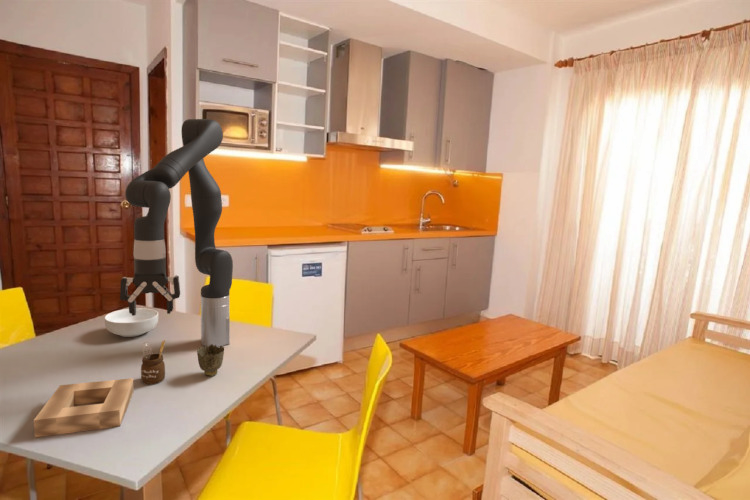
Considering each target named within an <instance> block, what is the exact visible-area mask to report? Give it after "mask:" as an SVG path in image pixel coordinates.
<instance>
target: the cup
mask: <svg viewBox="0 0 750 500" xmlns="http://www.w3.org/2000/svg"><path fill="white" fill-rule="evenodd" d="M196 353H197V360H198V361H197V362H198V365H199V366H198V367H199V368H200V370H202V371H203V374H204V375H205V376H206V377H214V376H216V375H217V374H218V370H219V369H220V368H221V367H222V365H223V362H224V354H225V347H224V346H219V347H217V346H216V345H213V344H211V345H210V346H209V347H208V346H207V345H206V346H203V345H202V346H201V347H198V348H197V350H196Z"/></svg>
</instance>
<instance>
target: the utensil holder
mask: <svg viewBox="0 0 750 500" xmlns="http://www.w3.org/2000/svg"><path fill="white" fill-rule="evenodd" d="M165 342H166V339H164V340H162V341H161V343H160V348H159V353H157V352H156V353H154V352H152V350H153V349H152V346H149V347H147V346H148V345H151V344H150V343H149V342H148V341H147V342H144V343H142V345H145V346H144V347H141V350H142V353H144V354H143V357H142V360H141V362H142V363H141V367H140V380H141V382H142V384H144V385H148V386H149V385H155V384H156V385H157V384H160V383H162V382H163V381H164V380H165V378H166V365H165V361H164V356H163V354H162V352H163V350H164V347H165ZM147 344H148V345H147ZM146 347H147V348H146ZM144 349H146V350H144ZM148 350H149V351H148ZM145 351H146V352H145ZM145 353H146V354H145Z"/></svg>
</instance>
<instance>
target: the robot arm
mask: <svg viewBox="0 0 750 500" xmlns="http://www.w3.org/2000/svg"><path fill="white" fill-rule="evenodd" d="M180 133H181V141H182V146H181V147H179V148H177V149H175V150H172V151H170V152H169V153H167V154H166V155H165V156H163V157H162V158H161V159H160V160H159V162H157V164H155V165H154V167H152V168H151V169H149V170H147V171H145V172H143V173H141V174H140V175H138V176H136V177H135V178H134V179H132V180H131V181H130V182H129V183H128V184H127V186H126V189H125V192H124V193H125V200H126V201H127V202H128V203H129V204H130V205H132V206H134V207H137V208H146V209H147V208H148V211H147V214H146V215H144V216H139V217H137V218H135V219H134V222H133V231H134V232H133V233H134V234H133V235H134V236H133V237H134V239H133V240H134V241H133V254H132V255H133V264H134V265H133V268H134V276H133V277H128V276H123V277H122V278H121V279H120V292H119V294H120V297H119V298H120V301H125V302H128V303H127V304H128V309H129V313H130V314H132V316H134V315H136V308H137V300H136V298H137V297H138V296H139V295H140V294H141V293H143V294H150V293H151V294H158V293H160V294H161V295H162V296H164V298H165V299H167V301H166V314H167V315H168V314H169V315H170V314H171V313H172V312H173V310H174V300H175V299H179V298H180V297H181V296H180V295H181V289H180V287H181V285H180V277H179V275H177V274H176V275H174V276H168V275H167V256H166V255H167V254H166V253H167V250H166V242H165V223H166V222H165V221H166V218H167V214H168V210H169V207H170V203H171V199H172V198H171V192H170V190H171V189H172V188H174V187H175V186H176V185H177V184H178V183H179V182H180V181H181V180H182V178H184V177H185V175H186V174H187V173H188V179H189V187H190V188H189V189H190V199H191V207H192V208H191V209H192V216H193V226H194V261H195V262H194V263H195V267H196V269H197V270H198V272H199V273H201V274H203V275H207V276H209V283H208V284H206V285H203V286H202V287H201V289H200V331H201V332H200V343H201V345H202V346H203V347H205V346H206V345H207V346H208V347H209V346H210V345H211V344H213V345H216V346H217V348H218V347H219V348H220V346H222V347H224V346H226V345H230V344H231V343H230V338H231V337H230V331H231V330H230V329H231V328H230V327H231V326H230V322H231V321H230V290H231V287H232V285H233V270H234V269H233V268H234V267H233V266H234V263H233V262H234V261H233V257H232V255H231V253H230V252H229V251H228V250H223V249H218V248H216V243H215V232H216V228H217V226H218V223H219V221H220V219H221V216H222V214H223V213H222V212H223V204H222V203H223V201H222V192H221V188H220V186H219V184H218V182H217V181H216V180H215V179H214V176H213V175H212V174H211V172H210V171H209V169H208V167H207V166H206V163H205V160H204V159H205V158H206V157H207V156H208V155H210V154H211V153H212V152H214V151H215V150H217V149H218V148H219V147H220V145H222V142H223V140H224V139H223V138H224V134H223V133H224V132H223V128H222V126H221V125H220V123H219V122H218V121H217V120H215V119H212V118H210V119H209V118H189V119H185V120H184V121H183V123H182V124H181V132H180ZM168 282H170V285H173V292H174V293H171V291H170V290H169V289H168V287H167V286H166V284H168ZM131 283H133V284H134V286H135V287H136V289H135V290H134V292H132V294H131V295H130V294H128V287H129V286H130V285H131Z"/></svg>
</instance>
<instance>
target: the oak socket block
mask: <svg viewBox="0 0 750 500" xmlns="http://www.w3.org/2000/svg"><path fill="white" fill-rule="evenodd" d="M133 395H134V378H132V377H131V378H122V379H121V378H119V379H113V380H112V379H110V380H101V381H90V382H78V383H70V384H59V386H58V388H56V390H55V391H54V392H53V394H52V395H51V397H50V398H49V399H48V400H47V402H46V403H45V404H44V406H43V407H42V409H41V410H39V412H38V414H37V415H36V417H35V418H34V419H33V428H34V430H33V431H34V437H35V438H39V437H47V436H53V435H54V436H56V435H65V434H71V433H77V432H78V433H79V432H85V431H92V430H94V431H95V430H102V429H107V428H108V429H110V428H117V427H121V425H122V422H123V420H124V417H125V414H126V413H127V410H128V408H129V405H130V403H131V399H132V398H133Z"/></svg>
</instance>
